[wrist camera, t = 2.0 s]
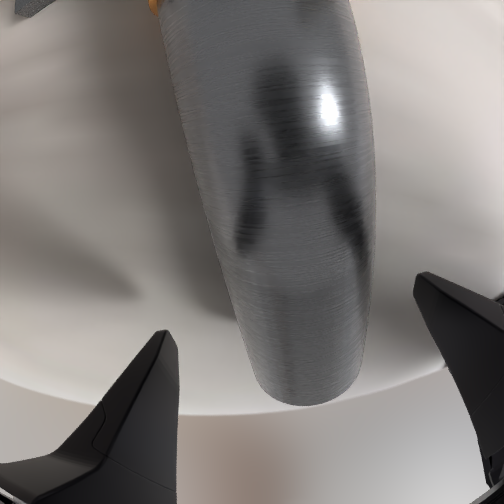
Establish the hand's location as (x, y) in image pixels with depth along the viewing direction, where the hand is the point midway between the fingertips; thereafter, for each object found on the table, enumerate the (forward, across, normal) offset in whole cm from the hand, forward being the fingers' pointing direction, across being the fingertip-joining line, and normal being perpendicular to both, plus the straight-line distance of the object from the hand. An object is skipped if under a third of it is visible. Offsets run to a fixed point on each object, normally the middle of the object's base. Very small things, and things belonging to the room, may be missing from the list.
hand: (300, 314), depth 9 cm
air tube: (+2, 0, -7) cm, 7 cm away
